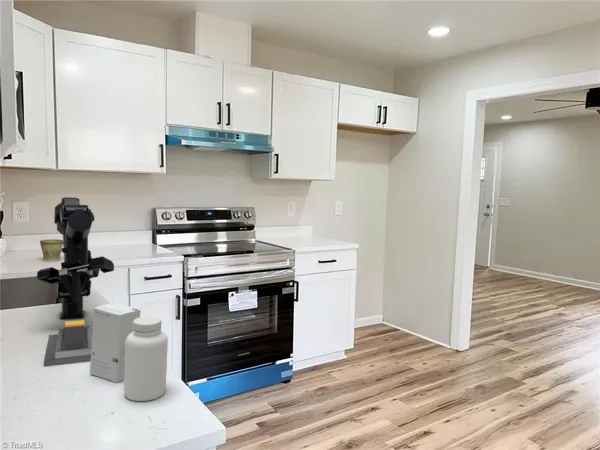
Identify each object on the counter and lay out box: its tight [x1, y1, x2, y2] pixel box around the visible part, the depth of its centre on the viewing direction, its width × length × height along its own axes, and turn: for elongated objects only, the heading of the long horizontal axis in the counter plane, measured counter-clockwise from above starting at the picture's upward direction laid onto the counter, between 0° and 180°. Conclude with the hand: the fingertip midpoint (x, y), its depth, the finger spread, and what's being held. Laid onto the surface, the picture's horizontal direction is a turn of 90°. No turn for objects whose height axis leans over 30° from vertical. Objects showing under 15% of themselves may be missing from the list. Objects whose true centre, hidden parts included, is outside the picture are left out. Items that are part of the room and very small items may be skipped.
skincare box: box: [89, 302, 141, 383], centre depth 95 cm, size 8×6×15 cm
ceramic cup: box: [39, 238, 63, 263], centre depth 217 cm, size 13×10×10 cm
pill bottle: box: [123, 315, 169, 402], centre depth 87 cm, size 8×8×15 cm
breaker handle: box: [62, 319, 86, 350], centre depth 103 cm, size 4×5×7 cm
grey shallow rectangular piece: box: [43, 325, 93, 368], centre depth 108 cm, size 18×12×3 cm, turn 26°
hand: (75, 301), depth 115 cm, fingers closed
